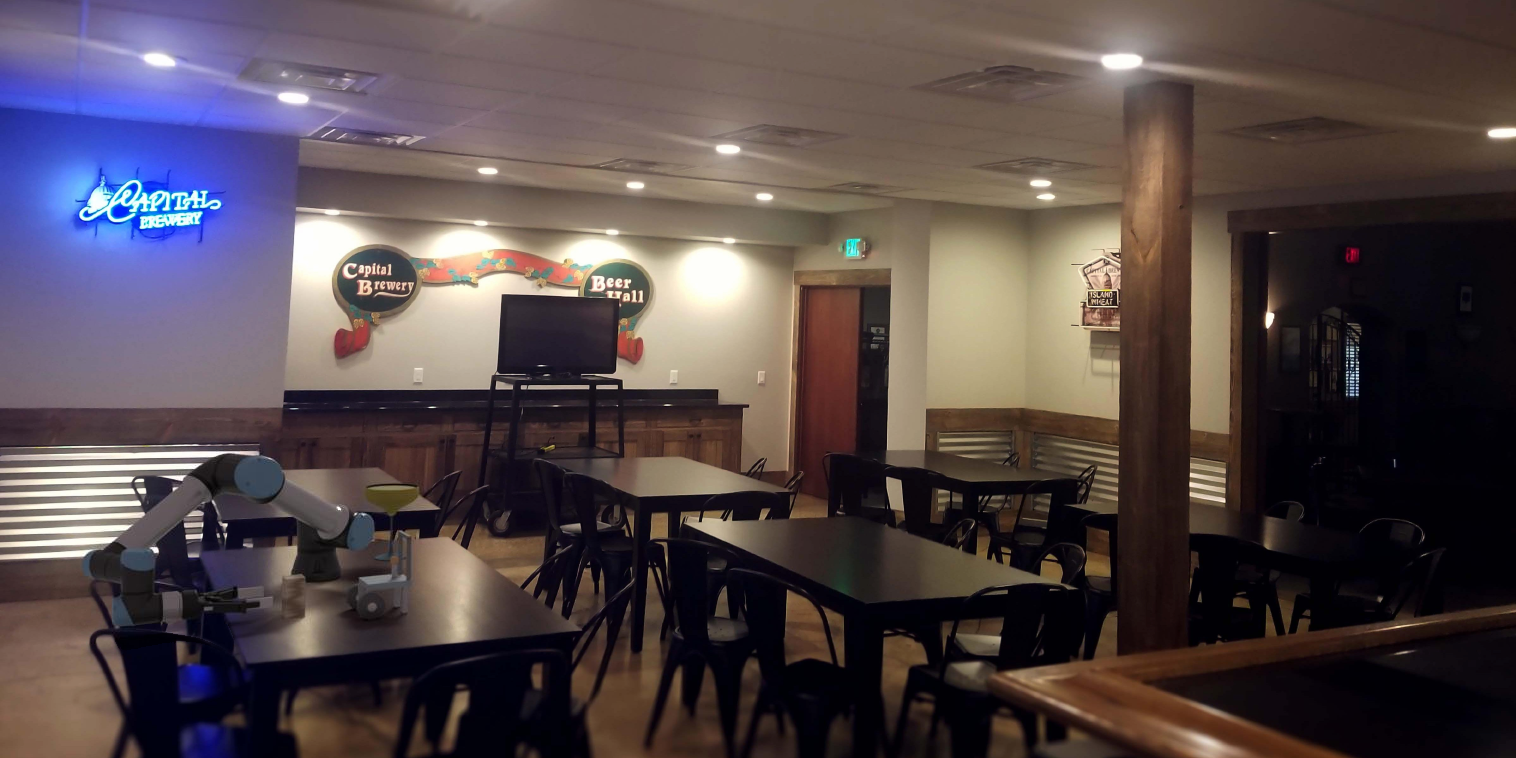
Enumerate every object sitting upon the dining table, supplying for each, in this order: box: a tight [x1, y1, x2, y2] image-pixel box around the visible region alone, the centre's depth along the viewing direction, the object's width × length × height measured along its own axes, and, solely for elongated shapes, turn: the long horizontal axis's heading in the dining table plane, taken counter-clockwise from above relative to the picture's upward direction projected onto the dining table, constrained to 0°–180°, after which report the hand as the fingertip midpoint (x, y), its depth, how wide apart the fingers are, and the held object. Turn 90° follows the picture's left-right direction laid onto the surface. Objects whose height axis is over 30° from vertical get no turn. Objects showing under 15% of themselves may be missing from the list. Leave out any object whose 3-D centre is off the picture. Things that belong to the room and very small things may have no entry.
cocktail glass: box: [364, 482, 420, 562], centre depth 379 cm, size 18×18×25 cm
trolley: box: [344, 530, 413, 621], centre depth 306 cm, size 15×15×22 cm
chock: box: [281, 574, 306, 620], centre depth 299 cm, size 5×5×11 cm
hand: (268, 596), depth 295 cm, fingers open, 13 cm apart
